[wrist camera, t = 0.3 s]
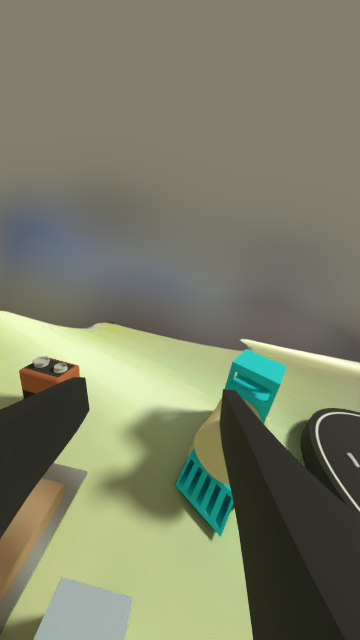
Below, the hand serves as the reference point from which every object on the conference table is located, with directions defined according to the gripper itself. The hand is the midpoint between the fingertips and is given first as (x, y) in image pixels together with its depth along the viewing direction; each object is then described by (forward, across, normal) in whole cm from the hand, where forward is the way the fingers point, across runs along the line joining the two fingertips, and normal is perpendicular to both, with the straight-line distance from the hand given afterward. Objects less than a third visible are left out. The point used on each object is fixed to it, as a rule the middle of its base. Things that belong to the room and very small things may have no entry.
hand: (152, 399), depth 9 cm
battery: (+15, +21, +17) cm, 31 cm away
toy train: (+13, -8, +21) cm, 26 cm away
